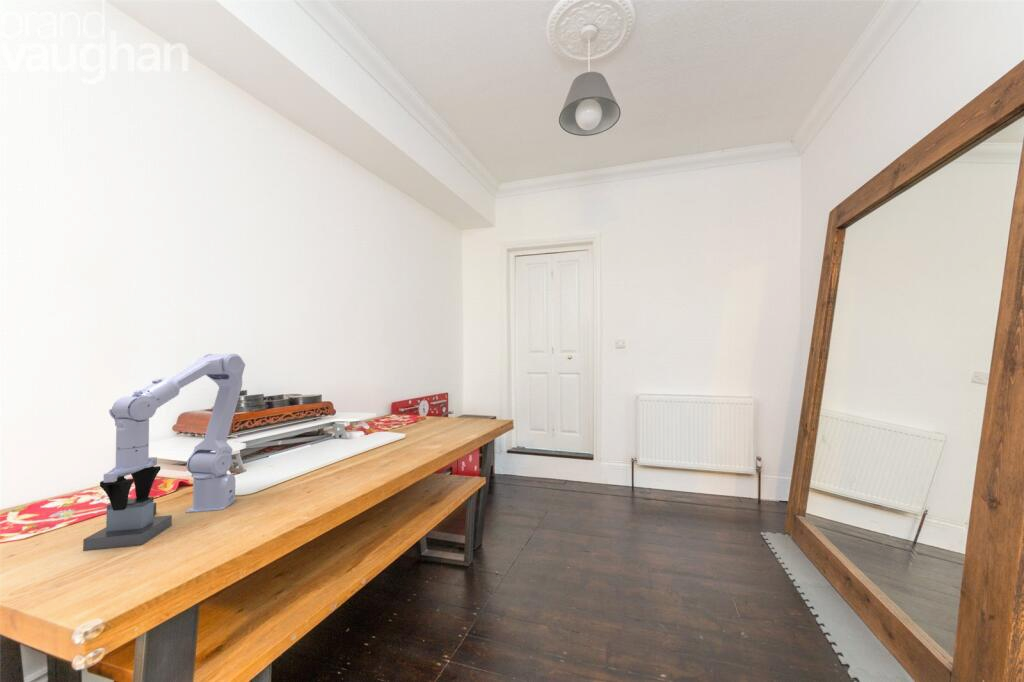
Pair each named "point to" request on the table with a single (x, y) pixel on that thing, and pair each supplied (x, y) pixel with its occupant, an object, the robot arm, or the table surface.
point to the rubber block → (154, 509)
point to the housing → (131, 515)
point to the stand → (127, 535)
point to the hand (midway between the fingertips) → (131, 503)
